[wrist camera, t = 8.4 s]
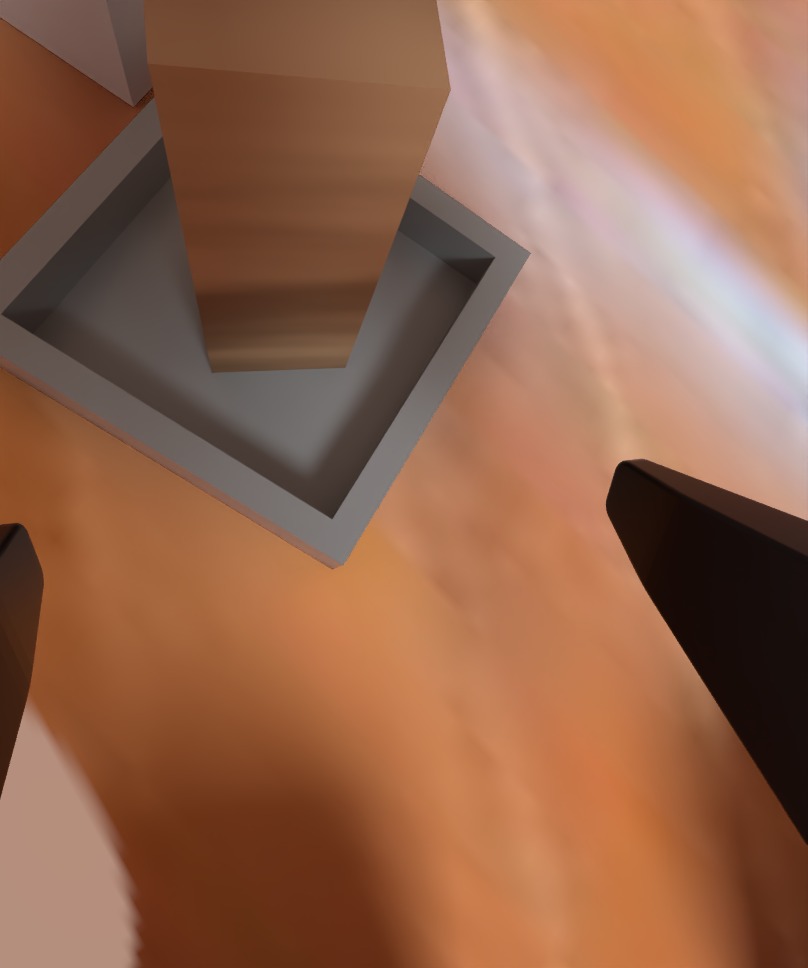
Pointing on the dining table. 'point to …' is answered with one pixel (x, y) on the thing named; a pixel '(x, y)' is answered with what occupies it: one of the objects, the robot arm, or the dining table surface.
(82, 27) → the grey soap dispenser
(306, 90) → the walnut block
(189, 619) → the dining table surface
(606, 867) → the dining table surface
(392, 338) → the tray
